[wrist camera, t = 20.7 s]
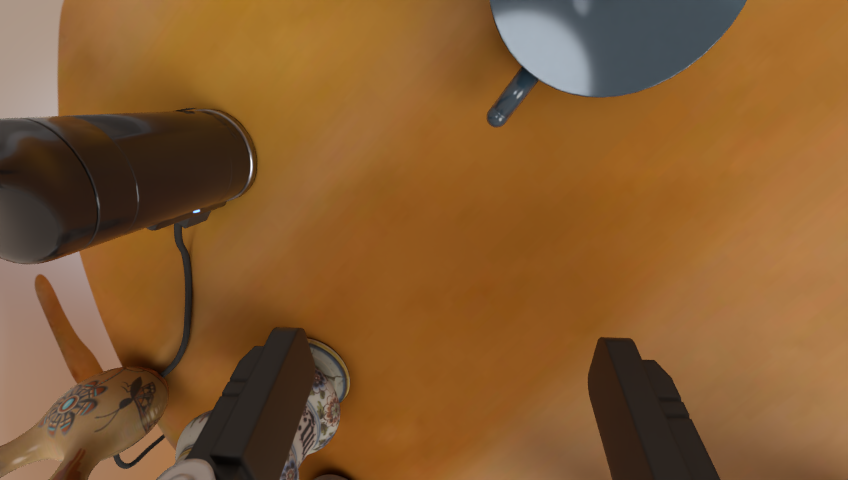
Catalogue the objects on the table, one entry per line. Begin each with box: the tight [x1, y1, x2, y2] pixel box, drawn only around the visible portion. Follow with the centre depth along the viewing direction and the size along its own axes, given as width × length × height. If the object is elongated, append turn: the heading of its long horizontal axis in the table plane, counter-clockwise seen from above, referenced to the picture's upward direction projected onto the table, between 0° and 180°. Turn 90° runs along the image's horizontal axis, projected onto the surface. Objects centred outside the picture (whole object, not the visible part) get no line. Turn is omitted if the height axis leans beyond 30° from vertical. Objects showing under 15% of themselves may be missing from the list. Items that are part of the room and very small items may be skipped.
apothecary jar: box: [174, 339, 350, 480], centre depth 42 cm, size 12×12×18 cm
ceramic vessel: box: [0, 367, 169, 480], centre depth 46 cm, size 16×9×25 cm, turn 93°
